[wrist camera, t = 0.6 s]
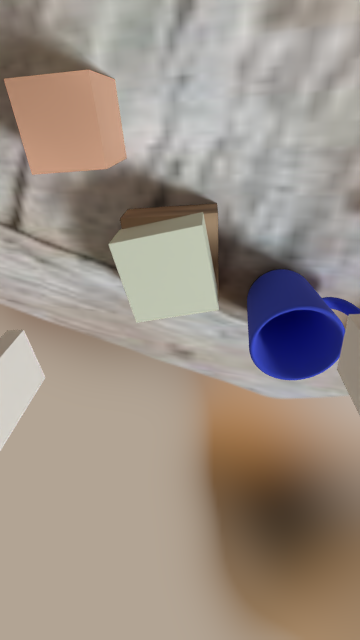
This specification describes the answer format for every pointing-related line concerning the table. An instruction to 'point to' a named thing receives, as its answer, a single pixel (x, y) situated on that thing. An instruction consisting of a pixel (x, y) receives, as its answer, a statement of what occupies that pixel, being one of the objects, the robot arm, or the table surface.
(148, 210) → the riser lower
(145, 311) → the block
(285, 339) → the mug
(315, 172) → the table surface
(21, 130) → the clay block
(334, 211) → the table surface
